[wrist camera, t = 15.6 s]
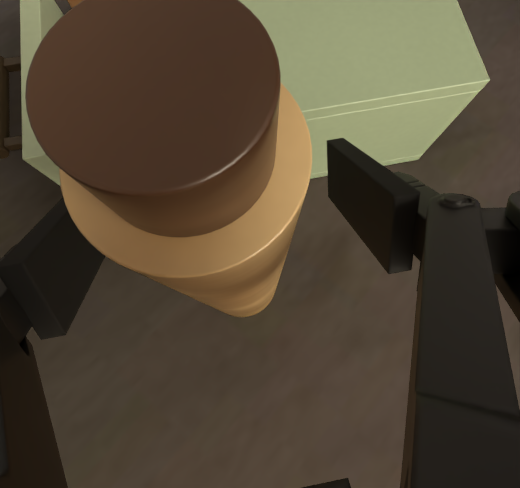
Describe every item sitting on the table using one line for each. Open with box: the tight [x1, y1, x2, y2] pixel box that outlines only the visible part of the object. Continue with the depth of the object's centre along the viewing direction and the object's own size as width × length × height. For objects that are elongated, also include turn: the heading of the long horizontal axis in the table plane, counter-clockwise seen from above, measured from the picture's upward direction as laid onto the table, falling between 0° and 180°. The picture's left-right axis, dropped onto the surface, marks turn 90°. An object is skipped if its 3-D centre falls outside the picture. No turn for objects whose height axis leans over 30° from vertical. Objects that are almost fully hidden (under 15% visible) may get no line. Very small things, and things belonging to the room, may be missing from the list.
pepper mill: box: [25, 0, 312, 317], centre depth 14 cm, size 5×5×20 cm
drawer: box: [0, 0, 83, 186], centre depth 23 cm, size 17×12×7 cm
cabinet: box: [239, 0, 490, 179], centre depth 23 cm, size 14×14×9 cm
